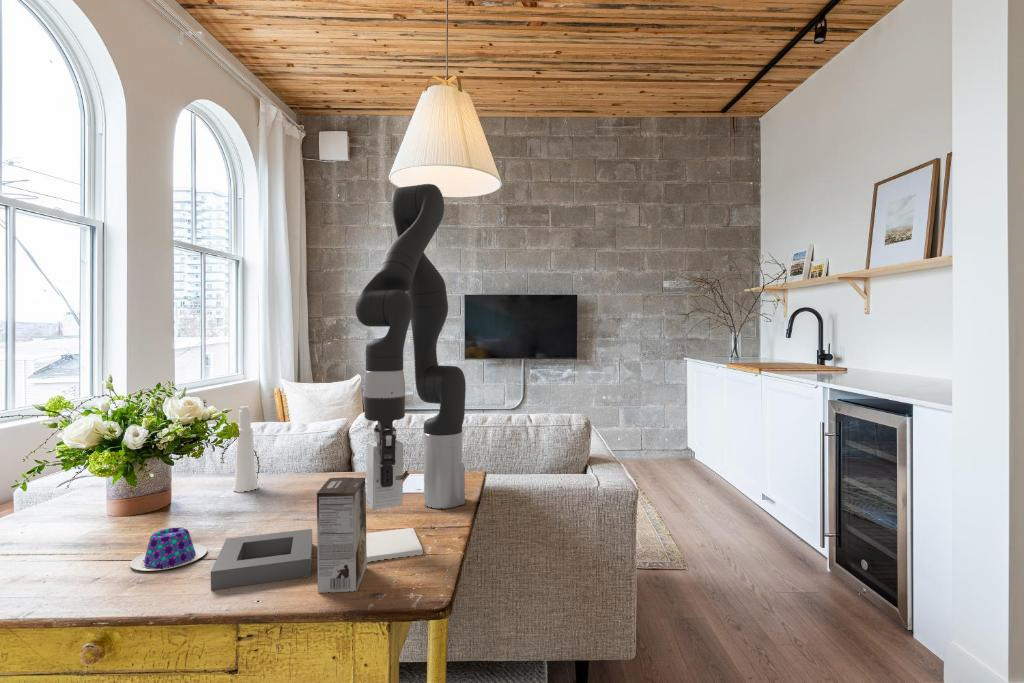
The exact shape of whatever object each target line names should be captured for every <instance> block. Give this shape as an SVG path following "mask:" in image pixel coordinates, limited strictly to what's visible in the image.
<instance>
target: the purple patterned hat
mask: <svg viewBox="0 0 1024 683" xmlns="http://www.w3.org/2000/svg"><path fill="white" fill-rule="evenodd" d="M190 534H191V533H190V531H189V530H188V529H187V528H184V527H179V526H178V527H168V528H165V529H160V530H157V532H154V533H152V534H151V535H150V537H149V542H148V544H147V548H146V552H143V553H141V554H139V555H137V556H136V557H134V558H133V559H132V560H130V563H129V566H130V567H131V568H132V569H133V570H137V571H145V572H146V571H148V572H150V571H154V572H155V571H162V570H168V569H174V568H178V567H182V566H185V565H188V564H191V563H192V562H195V561H197V560H200V558H202V557H203V556H204V555H206V554H207V552H208V548H207V547H206V546H204V545H202V544H199V543H193V541H192V536H191V535H190ZM195 552H196V553H195ZM193 558H194V559H193ZM143 560H144V562H143V566H145V567H146V568H147V567H150V569H146V568H142V567H141V564H142V561H143ZM190 560H191V561H190ZM188 561H189V562H188ZM144 563H145V564H144ZM181 563H182V564H181ZM175 565H176V566H175ZM166 566H167V567H166ZM173 566H174V567H173ZM163 567H164V568H163ZM168 567H169V568H168ZM156 568H158V569H156ZM160 568H163V569H160Z"/></svg>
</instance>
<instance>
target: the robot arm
mask: <svg viewBox="0 0 1024 683" xmlns="http://www.w3.org/2000/svg"><path fill="white" fill-rule="evenodd" d="M391 210H392V211H391V212H392V217H393V223H394V226H395V227H394V228H395V231H396V239H394V241H393V242H392V243H391V244H390V245H389V247H388V248H386V249H387V250H386V251H385V253H384V255H383V258H382V260H381V263H380V266H379V269H378V271H377V272H376V273H375V274H374V275H373V277H372V278H371V279H370V280H369V281H368V282H367V283H366V285H365V286H364V287H363V288H362V290H361V291H360V292H359V295H358V296H357V298H356V301H355V306H354V307H355V308H354V310H355V315H356V318H357V320H358V322H359V323H360V324H361V325H363V326H366V327H370V328H371V327H373V328H376V327H379V328H380V327H383V328H385V327H388V331H387V333H386V335H385V336H384V337H381V338H376V339H372V340H370V341H368V342H367V343H366V346H365V376H364V419H365V420H367V421H371V422H377V424H375V426H374V428H373V436H374V442H377V453H378V454H379V455H380V463H379V465H380V467H381V486H382V487H391V486H392V485H393V466H394V465H395V463H396V460H395V452H396V440H397V437H398V434H397V433H398V432H397V428H395V426H394V424H393V422H394V421H400V420H403V419H404V418H405V416H406V403H405V402H406V395H405V394H406V392H405V390H406V389H405V388H406V386H405V385H406V384H405V383H406V382H405V374H404V348H405V344H406V343H405V342H406V338H407V333H408V330H409V327H411V332H412V341H413V342H412V343H413V344H412V345H413V360H414V380H415V382H414V383H415V387H416V392H417V395H418V396H419V399H420V400H421V402H424V403H427V404H428V403H429V404H438V405H439V412H438V414H437V415H435V416H434V417H430V418H427V419H425V421H424V422H423V501H424V502H423V503H424V505H425V507H427V506H428V508H431V507H432V509H441V508H442V509H451V508H455V507H458V506H461V505H465V504H466V483H465V482H466V475H465V474H466V472H465V471H466V465H465V464H464V463H463V426H464V425H463V423H464V420H465V412H466V393H467V392H466V390H467V387H466V378H465V377H466V376H465V374H464V371H463V370H462V369H461V368H460V367H458V366H455V365H439V363H438V355H437V344H438V341H439V340H438V339H439V336H440V334H441V332H442V330H443V328H444V325H445V322H446V320H447V316H448V314H449V313H448V312H449V303H448V302H449V301H448V296H447V287H446V283H445V279H444V278H443V276H442V274H441V273H440V272H439V271H438V269H437V268H436V267H435V265H434V264H433V263H432V261H430V259H429V258H428V257H427V255H426V254H425V250H426V248H427V247H428V245H429V243H430V242H431V240H432V239H433V236H434V235H435V233H436V231H438V230H437V229H438V228H439V226H440V225H441V222H442V221H443V218H444V213H445V200H444V197H443V192H442V191H441V189H440V188H439V187H438V186H437V185H435V184H432V183H422V184H417V185H416V184H415V185H408V186H401V187H397V188H395V189H394V190H393V192H392V195H391ZM410 324H411V326H410ZM380 445H381V449H380ZM385 454H390V459H384V455H385Z"/></svg>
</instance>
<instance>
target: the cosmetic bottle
mask: <svg viewBox="0 0 1024 683" xmlns="http://www.w3.org/2000/svg"><path fill="white" fill-rule="evenodd" d="M239 409H240V410H239V411H238V429H239V433H240V436H239V437H237V436H236V448H235V449H236V450H235V451H236V452H235V470H234V472H235V473H234V481H233V487H232V492H234V491H237V492H236V493H245V492H244V491H248V492H251V491H250V490H253V491H255V490H254V489H256V490H258V488H259V484H258V480H257V472H256V464H255V449H254V448H255V446H254V430H253V427H252V426H251V421H252V418H251V417H252V416H251V409H250V406H249V405H242V406H240V407H239ZM238 491H239V492H238Z"/></svg>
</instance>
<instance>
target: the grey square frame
mask: <svg viewBox="0 0 1024 683" xmlns="http://www.w3.org/2000/svg"><path fill="white" fill-rule="evenodd" d="M312 553H313V528H307V529H297V530H291V531H289V530H288V531H282V532H281V531H280V532H274V533H264V534H254V535H253V534H252V535H248V536H245V535H244V536H238V537H237V536H236V537H230V538H225V541H224V543H223V545H222V547H221V549H220V552H219V553H218V555H217V556H216V557H217V558H216V560H215V562H214V563H213V566H212V567H211V570H210V591H213V590H214V591H215V590H221V589H222V590H223V589H229V588H230V589H231V588H235V587H236V588H237V587H242V586H243V587H244V586H250V585H258V584H264V583H271V582H278V581H284V580H285V581H286V580H293V579H300V578H308V577H311V574H312V573H311V572H312V558H313V557H312V556H313V554H312Z"/></svg>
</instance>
